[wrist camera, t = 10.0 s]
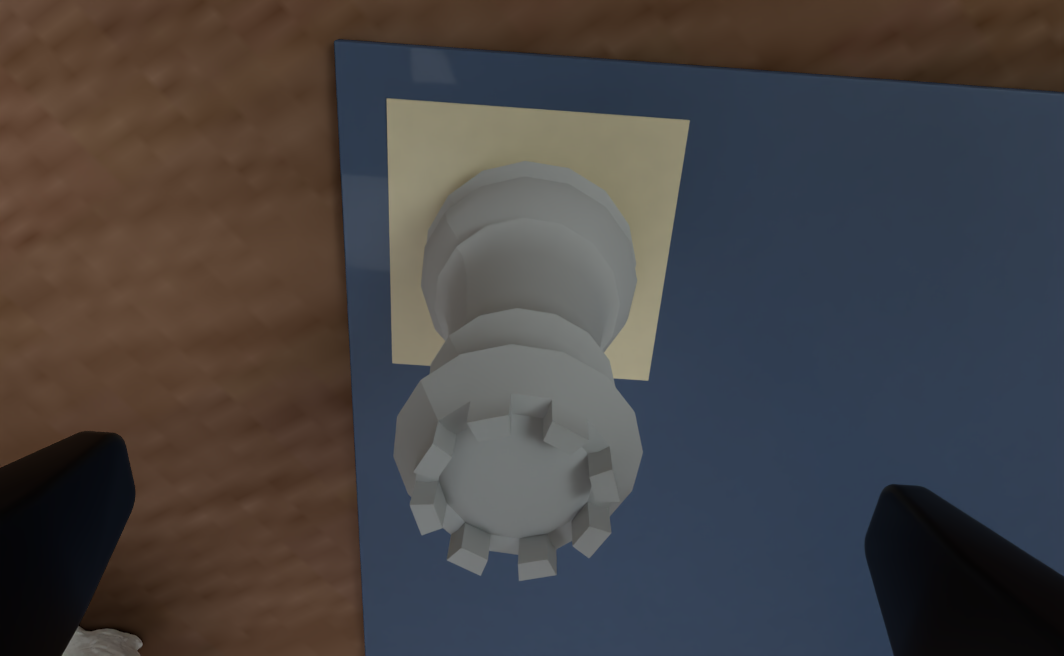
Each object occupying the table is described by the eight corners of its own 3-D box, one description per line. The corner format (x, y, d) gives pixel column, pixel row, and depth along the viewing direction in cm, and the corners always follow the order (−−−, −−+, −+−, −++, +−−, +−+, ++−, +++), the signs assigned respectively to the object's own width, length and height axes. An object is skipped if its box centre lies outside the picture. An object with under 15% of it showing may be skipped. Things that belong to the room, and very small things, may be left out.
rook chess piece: (385, 261, 16) (253, 506, 9) (523, 108, 15) (499, 256, 7) (535, 383, 17) (525, 682, 10) (676, 253, 16) (780, 498, 9)
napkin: (1018, 709, 23) (1024, 720, 22) (368, 668, 23) (365, 679, 22) (1349, 112, 15) (1366, 116, 14) (337, 38, 14) (332, 41, 14)
